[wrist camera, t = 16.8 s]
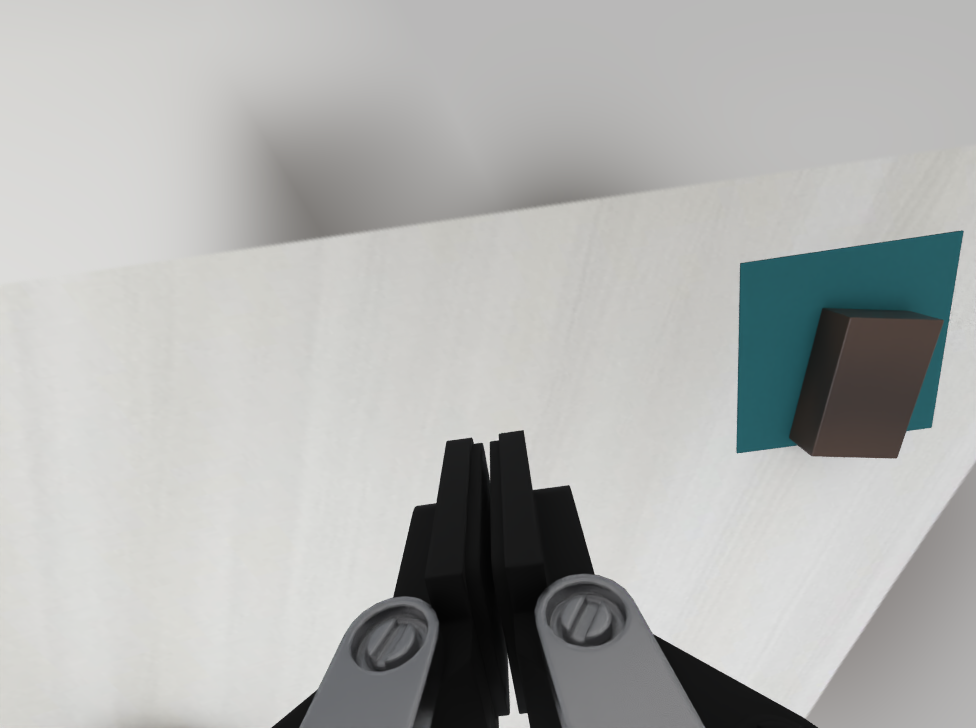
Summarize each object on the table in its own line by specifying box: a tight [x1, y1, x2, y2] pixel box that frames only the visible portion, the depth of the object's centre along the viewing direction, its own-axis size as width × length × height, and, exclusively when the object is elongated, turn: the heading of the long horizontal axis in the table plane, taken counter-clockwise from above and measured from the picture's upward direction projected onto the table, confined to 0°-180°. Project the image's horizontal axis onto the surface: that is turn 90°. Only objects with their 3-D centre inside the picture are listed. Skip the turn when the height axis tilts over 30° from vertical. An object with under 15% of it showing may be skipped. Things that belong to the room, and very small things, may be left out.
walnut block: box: [789, 308, 944, 458], centre depth 31 cm, size 9×6×2 cm, turn 178°
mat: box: [737, 231, 963, 453], centre depth 31 cm, size 13×13×1 cm
